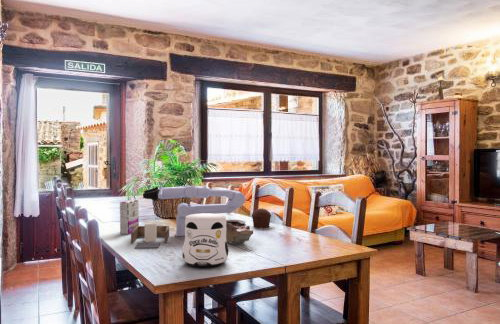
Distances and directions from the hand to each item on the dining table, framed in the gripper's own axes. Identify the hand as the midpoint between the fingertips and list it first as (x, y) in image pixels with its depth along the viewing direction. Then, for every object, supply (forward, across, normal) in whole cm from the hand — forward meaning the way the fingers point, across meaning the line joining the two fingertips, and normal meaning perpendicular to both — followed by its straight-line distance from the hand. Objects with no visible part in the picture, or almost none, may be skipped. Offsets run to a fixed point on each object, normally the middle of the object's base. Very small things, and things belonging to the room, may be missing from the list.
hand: (143, 194), depth 198 cm
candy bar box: (+9, -8, +21) cm, 24 cm away
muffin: (-62, -14, +26) cm, 69 cm away
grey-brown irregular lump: (-43, +23, +22) cm, 54 cm away
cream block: (-3, +12, +20) cm, 24 cm away
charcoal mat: (-2, +24, +19) cm, 30 cm away
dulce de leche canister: (-26, +55, +18) cm, 63 cm away
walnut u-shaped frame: (-3, +11, +20) cm, 23 cm away
